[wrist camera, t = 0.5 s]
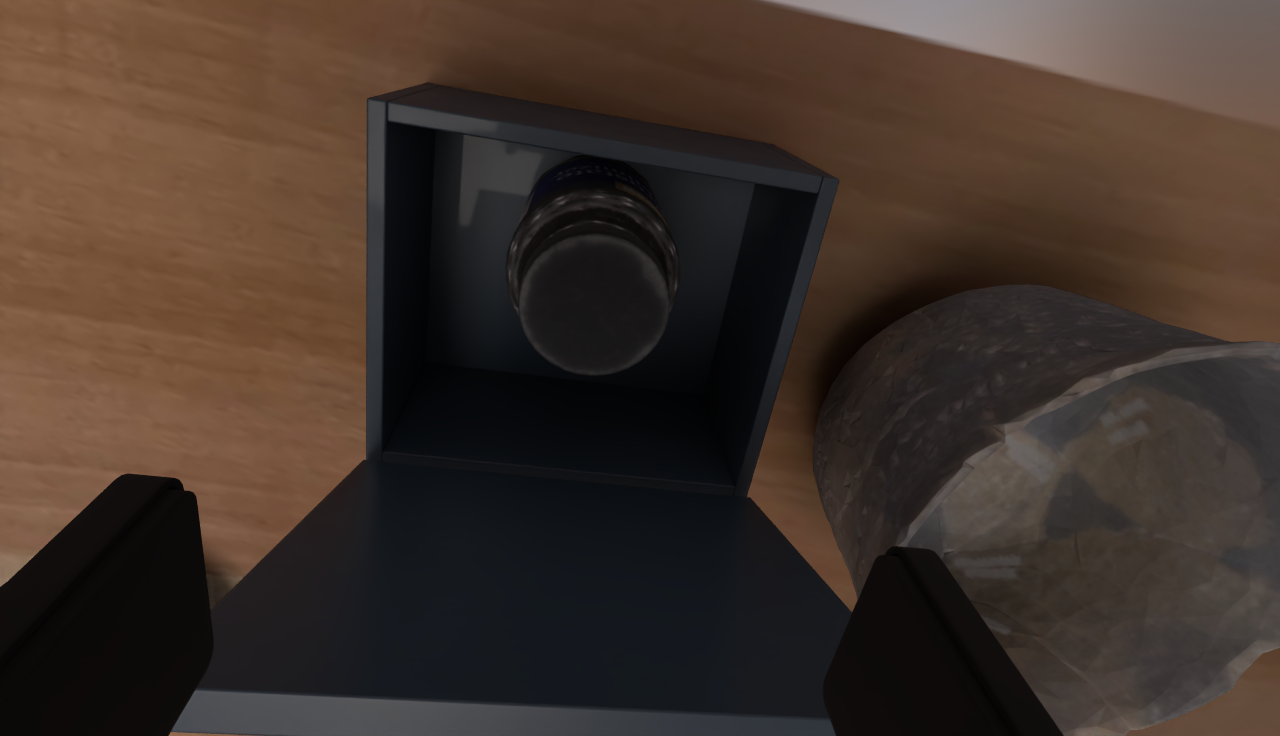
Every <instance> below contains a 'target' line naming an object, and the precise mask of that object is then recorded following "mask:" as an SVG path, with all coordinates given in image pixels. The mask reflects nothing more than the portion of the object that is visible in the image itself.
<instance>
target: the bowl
mask: <svg viewBox="0 0 1280 736" xmlns="http://www.w3.org/2000/svg"><path fill="white" fill-rule="evenodd" d="M813 471H814V475H815V479H816V483H817V487H818V491H819V495H820V498H821V502H822V505H823V508H824V511H825V514H826V517H827V519H828V521H829V523H830V525H831V527H832V530H833V533H834V536H835V539H836V542H837V544H838V547H839V549H840V551H841V553H842V556H843V558H844V561H845V563H846V565H847V568H848V570H849V572H850V575H851V578H852V581H853V585H854V588H855V591H856V594H857V599H858V598H859V596H860V594H861V591H862V589H863V586H864V584H865V582H866V579H867V577H868V575H869V572H870V570H871V568H872V565H873V563H874V561H875V559H876V558H877V557H878V556H879V555H885V553H886V551H887V550H888V549H889V548H891V547H893V546H902V547H912V548H923V549H930V550H932V551H935V552H936V554H937V555H938V556H939V557H940V558H941V560H942V561H943V563H944V564H945V565H946V567H947V568H948V570H949V571H950V573H951V574H952V575H953V577H954V578H955V580H956V581H957V583H958V584H959V586H960V587H961V588H962V590H963V591H964V593H965V594H966V596H967V597H968V598H969V600H970V601H971V603H972V604H973V606H974V607H975V609H976V610H977V611H978V613H979V614H980V616H981V617H982V619H983V620H984V621H985V623H986V624H987V626H988V627H989V629H990V630H991V632H992V633H993V634H994V636H995V637H996V639H997V640H998V642H999V643H1000V644H1001V646H1002V647H1003V649H1004V650H1005V652H1006V653H1007V655H1008V656H1009V657H1010V659H1011V660H1012V662H1013V663H1014V665H1015V666H1016V667H1017V669H1018V670H1019V672H1020V673H1021V675H1022V676H1023V677H1024V679H1025V680H1026V682H1027V683H1028V685H1029V686H1030V688H1031V689H1032V690H1033V692H1034V693H1035V695H1036V696H1037V698H1038V699H1039V700H1040V702H1041V703H1042V705H1043V706H1044V708H1045V709H1046V711H1047V712H1048V713H1049V715H1050V716H1051V718H1052V719H1053V721H1054V722H1055V723H1056V725H1057V726H1058V728H1059V729H1060V731H1061V732H1062V734H1063V735H1064V736H1125V735H1126V734H1127V732H1128V731H1129V730H1141V729H1144V728H1147V727H1150V726H1153V725H1156V724H1159V723H1162V722H1165V721H1168V720H1171V719H1174V718H1176V717H1178V716H1181V715H1183V714H1185V713H1187V712H1190V711H1192V710H1194V709H1196V708H1198V707H1201V706H1203V705H1205V704H1206V703H1208V702H1210V701H1212V700H1214V699H1215V698H1217V697H1219V696H1221V695H1223V694H1224V693H1226V692H1228V691H1230V690H1232V688H1233V687H1234V685H1235V684H1236V682H1237V680H1238V679H1239V677H1240V676H1241V674H1242V673H1243V672H1244V671H1245V670H1246V669H1247V668H1248V667H1249V666H1250V665H1251V664H1252V663H1254V661H1255V660H1256V659H1257V658H1258V657H1259V656H1260V655H1261V654H1262V653H1265V652H1268V651H1271V650H1275V649H1278V648H1280V343H1272V342H1264V341H1253V342H1229V341H1224V340H1221V339H1217V338H1214V337H1211V336H1207V335H1204V334H1201V333H1198V332H1194V331H1191V330H1187V329H1183V328H1179V327H1175V326H1171V325H1167V324H1164V323H1161V322H1158V321H1156V320H1153V319H1150V318H1147V317H1144V316H1142V315H1139V314H1136V313H1133V312H1131V311H1128V310H1125V309H1122V308H1120V307H1117V306H1114V305H1111V304H1108V303H1104V302H1101V301H1098V300H1094V299H1091V298H1088V297H1084V296H1081V295H1078V294H1074V293H1071V292H1068V291H1064V290H1060V289H1057V288H1053V287H1049V286H1041V285H1031V284H1025V285H1002V286H995V287H988V288H981V289H975V290H968V291H964V292H961V293H958V294H955V295H952V296H949V297H946V298H943V299H940V300H938V301H935V302H933V303H931V304H928V305H926V306H924V307H922V308H920V309H918V310H916V311H914V312H912V313H910V314H908V315H906V316H904V317H902V318H901V319H899V320H897V321H895V322H894V323H892V324H891V325H889V326H888V327H886V328H885V329H883V330H882V331H881V332H879V333H878V334H877V335H876V336H874V337H873V338H872V339H870V340H869V341H868V342H867V343H865V344H864V345H863V346H862V347H861V348H860V349H859V350H858V351H857V353H856V354H855V355H854V356H853V357H852V358H851V359H850V360H849V361H848V362H847V363H846V364H845V366H844V367H843V369H842V370H841V372H840V373H839V375H838V376H837V378H836V380H835V381H834V382H833V384H832V385H831V388H830V390H829V392H828V395H827V397H826V399H825V400H824V402H823V404H822V407H821V409H820V412H819V417H818V421H817V425H816V429H815V438H814V449H813Z"/></svg>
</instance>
